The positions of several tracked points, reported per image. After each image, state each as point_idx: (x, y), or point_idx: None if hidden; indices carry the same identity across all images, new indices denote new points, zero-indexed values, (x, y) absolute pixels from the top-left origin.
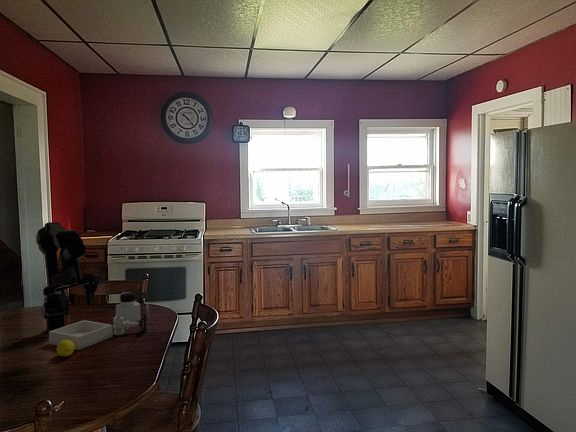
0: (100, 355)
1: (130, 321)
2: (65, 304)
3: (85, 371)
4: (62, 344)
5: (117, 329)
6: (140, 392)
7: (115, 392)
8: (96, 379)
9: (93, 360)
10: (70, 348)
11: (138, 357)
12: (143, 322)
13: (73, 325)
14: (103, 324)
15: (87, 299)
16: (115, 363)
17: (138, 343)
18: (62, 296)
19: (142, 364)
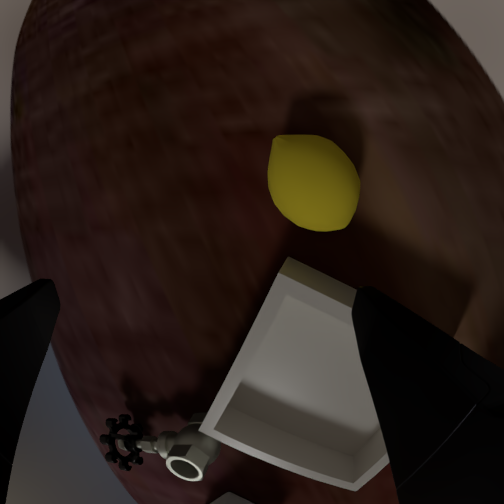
0: (164, 190)
1: (219, 499)
2: (378, 413)
3: (157, 44)
4: (310, 146)
5: (197, 424)
6: (30, 10)
7: None
8: (110, 13)
9: (168, 136)
10: (270, 153)
11: (52, 181)
12: (113, 433)
13: (385, 450)
14: (242, 444)
15: (1, 310)
16: (92, 122)
17: (96, 313)
18: (434, 500)
19: (35, 132)
